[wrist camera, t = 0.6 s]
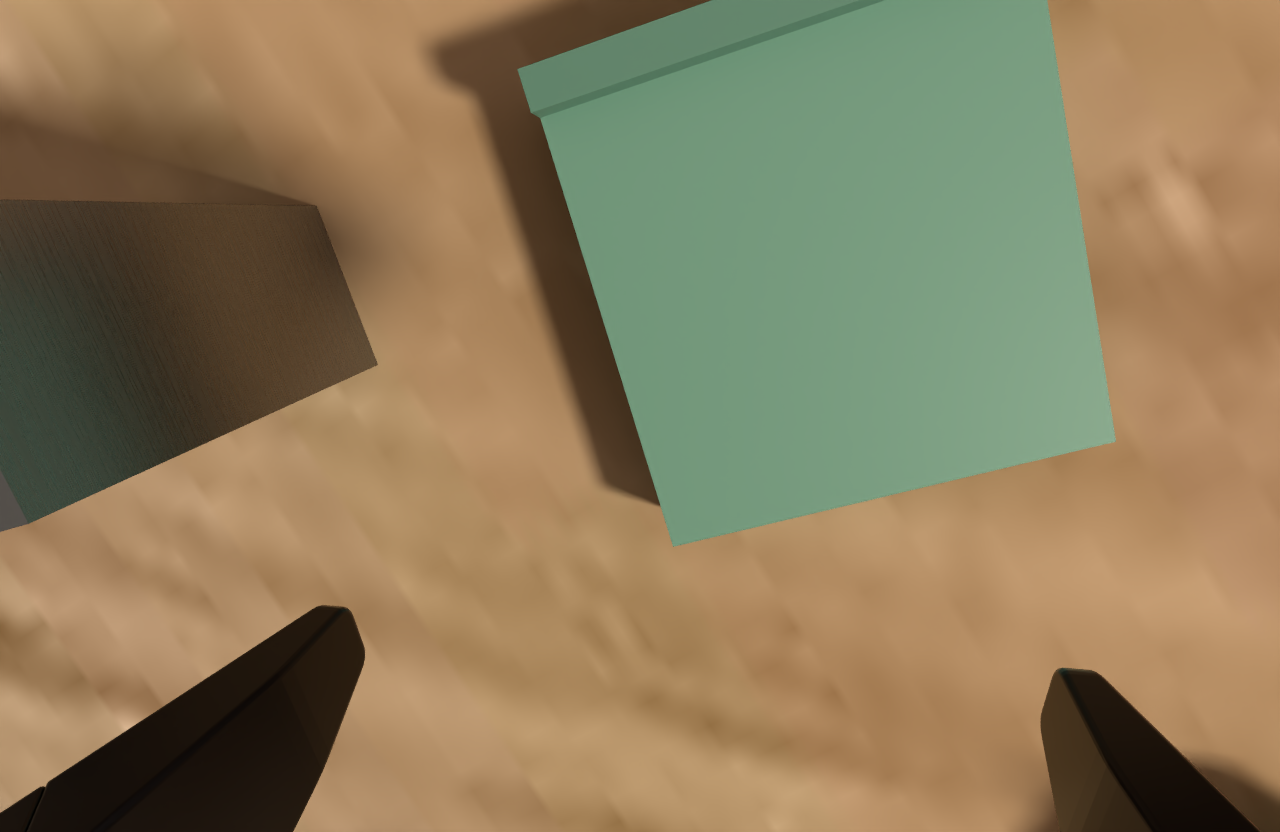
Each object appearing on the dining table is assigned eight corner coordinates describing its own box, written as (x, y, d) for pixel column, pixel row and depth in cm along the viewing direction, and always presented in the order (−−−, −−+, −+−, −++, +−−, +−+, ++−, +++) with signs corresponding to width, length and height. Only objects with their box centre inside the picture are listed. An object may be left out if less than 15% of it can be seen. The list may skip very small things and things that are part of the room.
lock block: (377, 364, 23) (-21, 546, 11) (239, 405, 24) (-288, 620, 11) (316, 206, 22) (-211, 195, 10) (173, 254, 23) (-492, 305, 10)
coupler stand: (1071, 416, 22) (1136, 453, 19) (676, 512, 24) (671, 562, 20) (990, -61, 19) (1051, -120, 16) (548, 92, 21) (517, 69, 18)
